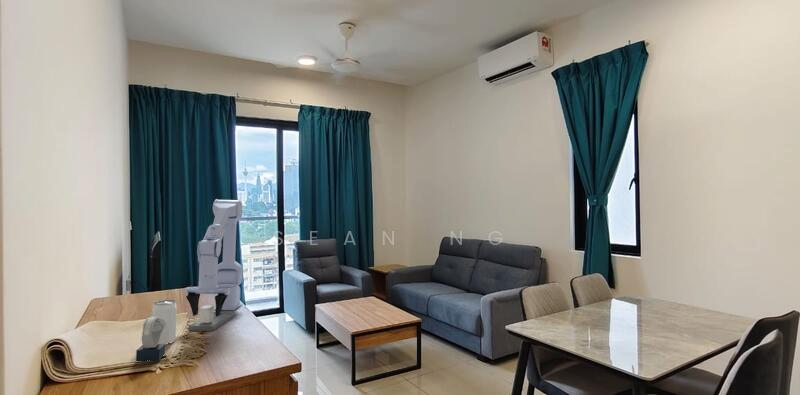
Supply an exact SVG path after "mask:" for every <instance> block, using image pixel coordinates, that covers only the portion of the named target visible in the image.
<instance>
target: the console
mask: <svg viewBox="0 0 800 395" xmlns="http://www.w3.org/2000/svg"><path fill="white" fill-rule="evenodd" d="M215 312H216V311H213V321H211V322H210V323H200V319H198V320H197V321H194V322H192V323H191V324H189V325H188V331H201V332H202V331H204V332H211V331H212V332H214V331H215V330H217V329H218V328H219V327H221V326H223V325H224V324H225V323H226V322H228V321H230V320H231V319H232V318H234V317H235V312H233V311H221V313H220V315H219V316H216V315H215Z"/></svg>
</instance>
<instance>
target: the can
mask: <svg viewBox="0 0 800 395" xmlns="http://www.w3.org/2000/svg"><path fill="white" fill-rule="evenodd" d="M177 307H178V306H177V303H176V301H175V300H173V299H165V300H157V301H154V303H153V306H152V309H151V317H160V318H162V319H164V320H165V322H166V325H165V327H164V329H163V332H162V334H161V336H160V340H159V342H158V344H166V343H170V342H172V341H174V340H175V341H176V335H177V334H176V333H177V332H176V331H177V312H178V311H177V310H178V308H177ZM175 341H174V342H175ZM170 344H171V343H170Z"/></svg>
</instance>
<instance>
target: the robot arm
mask: <svg viewBox="0 0 800 395" xmlns="http://www.w3.org/2000/svg"><path fill="white" fill-rule="evenodd" d="M212 212H213V215H214V218H213V222H212V224H210V225H209V226H208V227H207V229H206V232H205V235H204V236H203V239H202V240H200V241H198V243H197V250H196V254H197V262H198V264H199V267H198V286H187V287H185V288H184V295H186V294H187V295H186V297H185V298H186V300H187V301H188V304H189V306H190V308H191V313H192V317H193V316H194V317H195V316H197V315H198V314H199V305H200V304H199V303H200V297H201V294H202V295H215V296H214V300H215V301H214V302H215V306H214V308H213V311H214V312H215V315H216V316H219V315H220V313H221V312H222V311H234V310H236V309H238V308H240V307H241V306H242V305H243V303H241V287H240V285H241V284H242V282H243V276H244V274H243V266H242V265H241V263H239V262H238V261H236V247H237V246H236V245H237V243H236V242H237V241H236V240H237V225H238V221H241V220H242V218H243V204H242V201H241V199H238V200H236V199H218V198H216V199H215V200H214V201H213V204H212ZM221 252H222V262H220V263H219V257H220V255H221ZM241 304H242V305H241Z"/></svg>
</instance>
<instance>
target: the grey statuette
mask: <svg viewBox="0 0 800 395" xmlns="http://www.w3.org/2000/svg"><path fill="white" fill-rule="evenodd" d="M165 325H166V322H165V320H164V319H162V318H160V317H152V316H150V317H147V318H146V319H145V320H144V323H143V325H142V332H141V343H142V345H141V346H140V347H138V348H137V349H136V352H135V362H136V361H147V360H148V361H149V360H150V361H152V362H160V361H161V360H162V359H163V358H162V356H163V355H164V354H165V355H166V353H165V352H166V345H165V344H158V342H159V340H160V336H161V334H162V332H163V329H164V327H165ZM165 355H164V356H165ZM161 358H162V359H161Z"/></svg>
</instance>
